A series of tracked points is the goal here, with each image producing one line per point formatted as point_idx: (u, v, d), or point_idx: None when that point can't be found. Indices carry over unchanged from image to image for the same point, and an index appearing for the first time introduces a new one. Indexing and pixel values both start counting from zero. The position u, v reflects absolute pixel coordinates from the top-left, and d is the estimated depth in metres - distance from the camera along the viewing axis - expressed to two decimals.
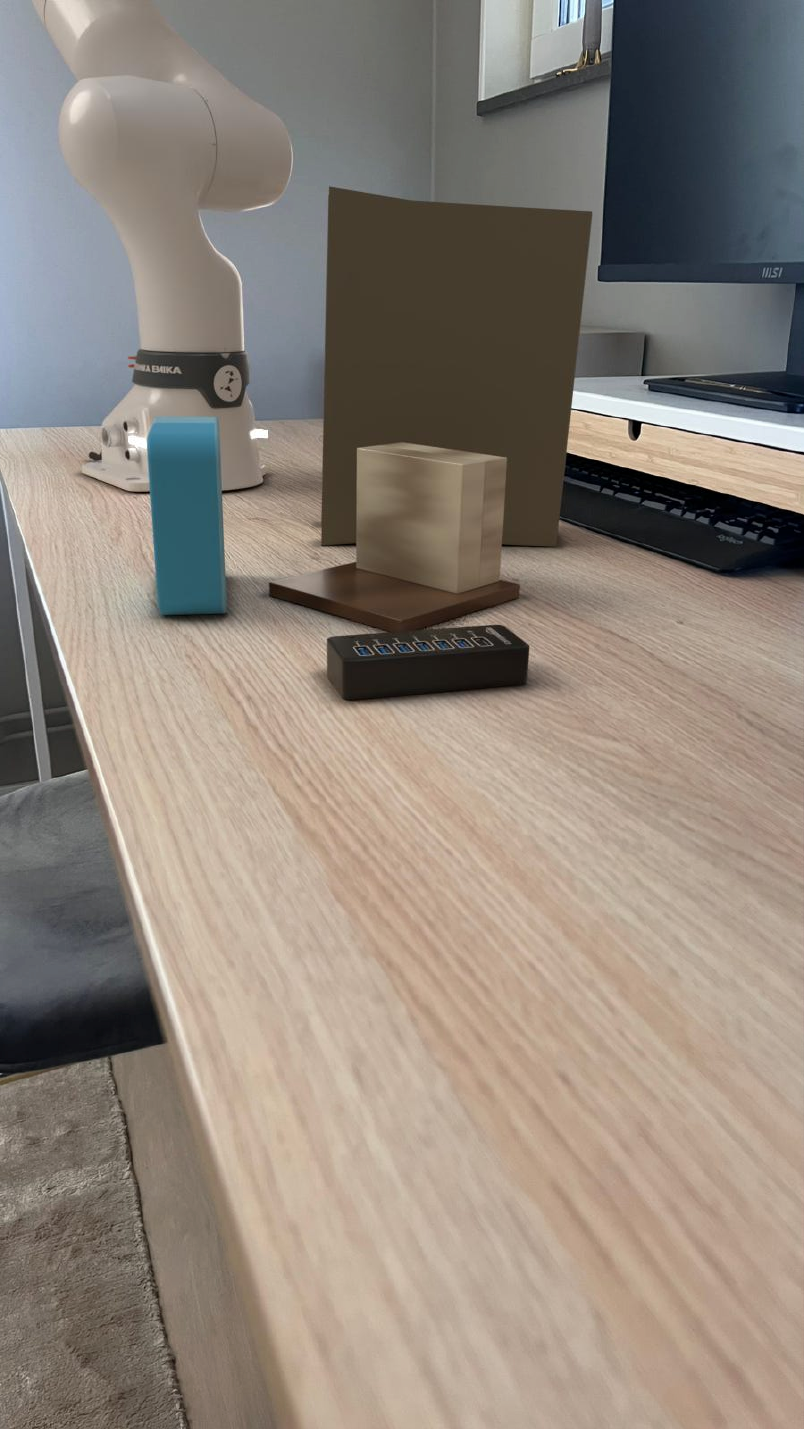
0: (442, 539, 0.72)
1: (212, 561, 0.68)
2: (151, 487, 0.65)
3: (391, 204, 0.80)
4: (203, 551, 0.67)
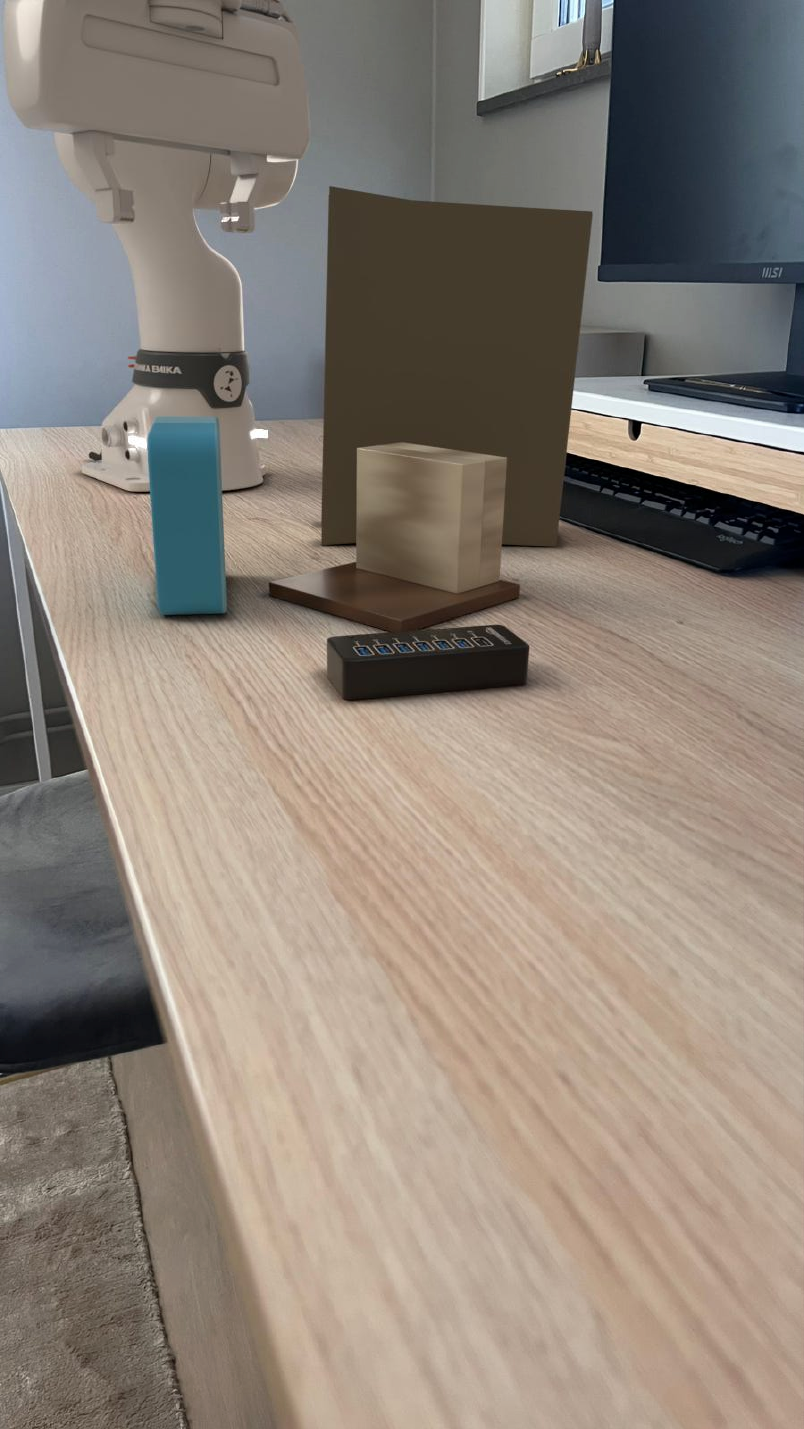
0: (442, 539, 0.72)
1: (212, 561, 0.68)
2: (151, 487, 0.65)
3: (391, 204, 0.80)
4: (203, 551, 0.67)
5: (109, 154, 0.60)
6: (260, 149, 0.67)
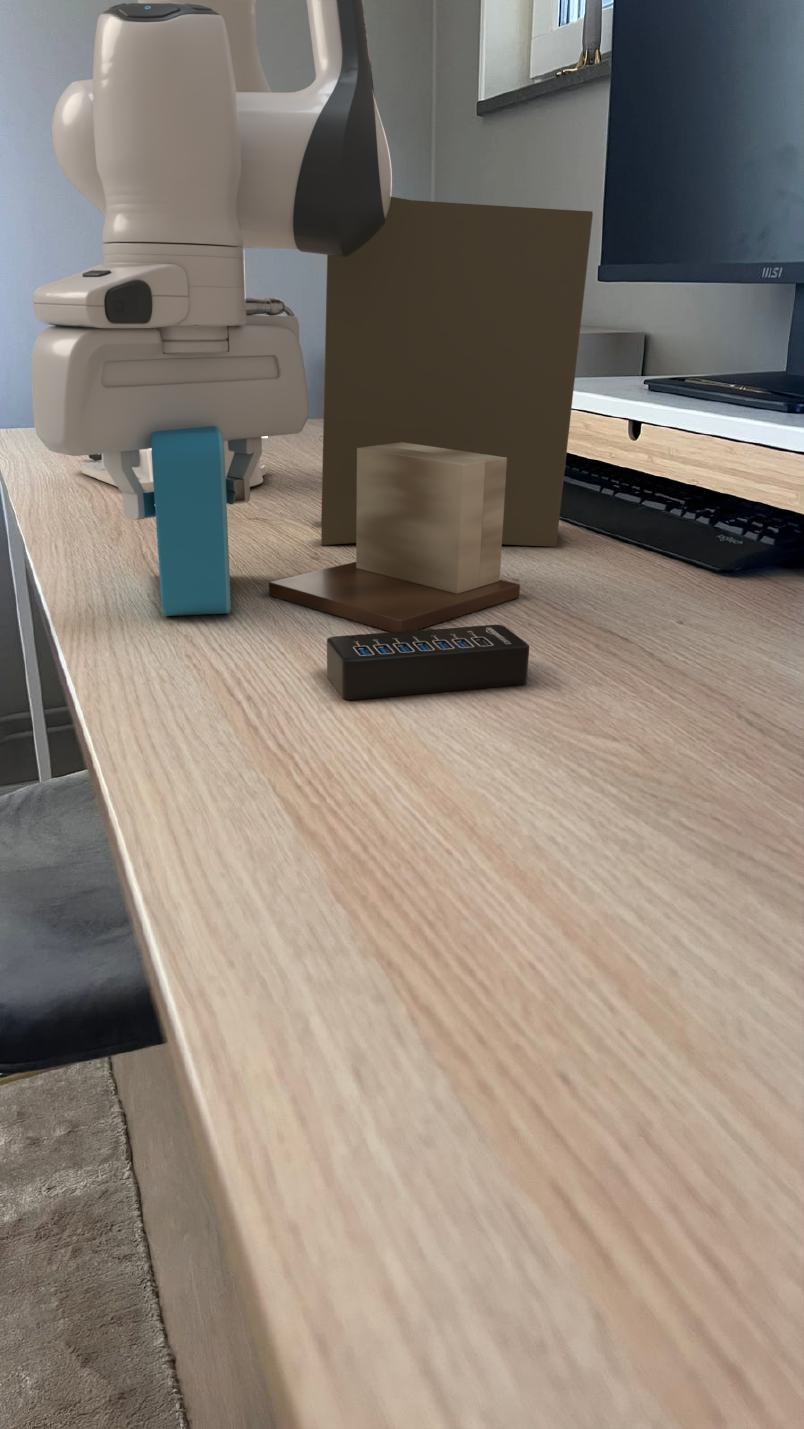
0: (442, 539, 0.72)
1: (216, 561, 0.68)
2: (155, 488, 0.65)
3: (391, 204, 0.80)
4: (207, 551, 0.67)
5: (135, 466, 0.67)
6: (262, 434, 0.73)
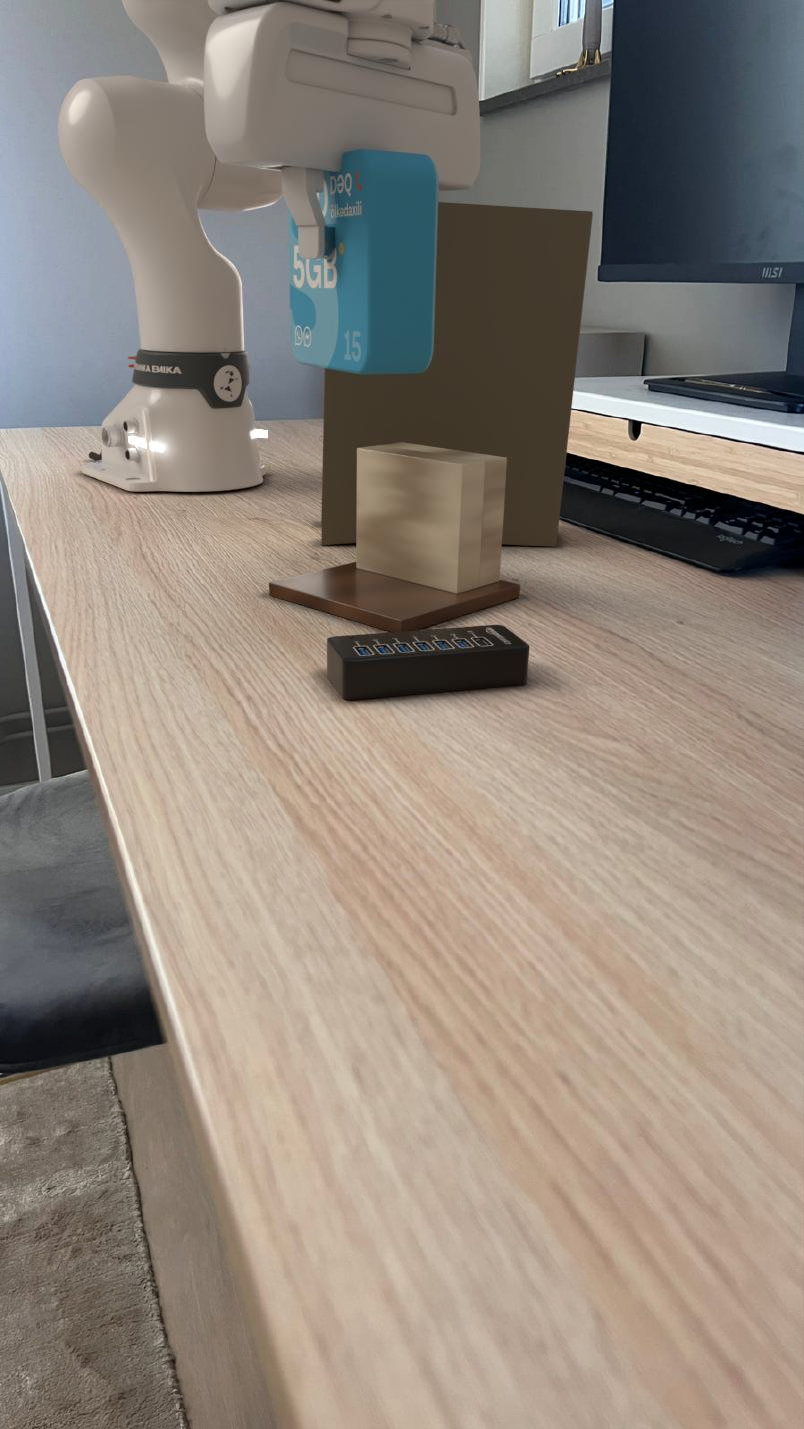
0: (442, 539, 0.72)
1: (424, 304, 0.61)
2: (371, 210, 0.57)
3: None
4: (417, 291, 0.60)
5: (318, 191, 0.60)
6: None
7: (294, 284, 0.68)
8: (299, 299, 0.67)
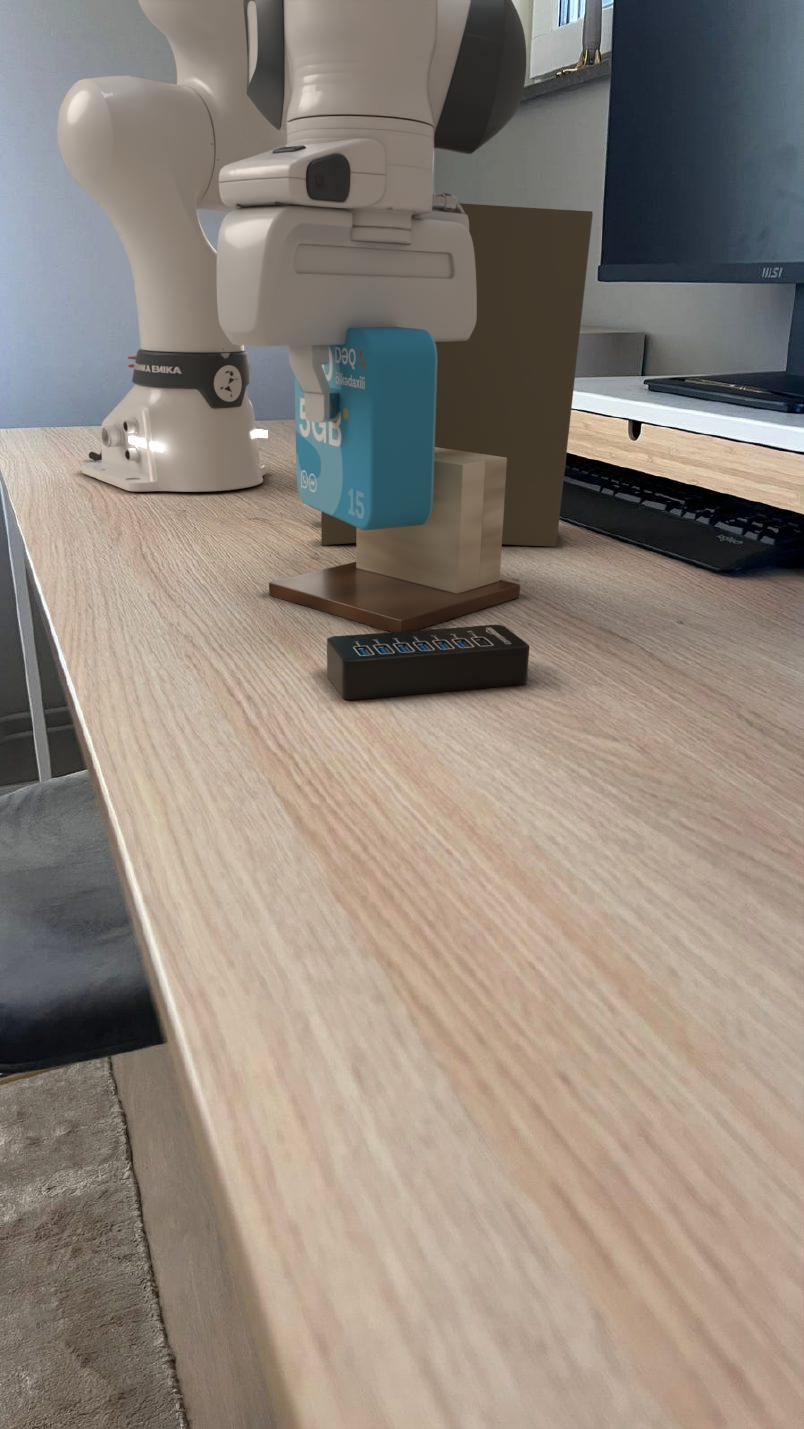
0: (442, 539, 0.72)
1: (424, 466, 0.64)
2: (373, 387, 0.61)
3: None
4: (417, 456, 0.64)
5: (324, 363, 0.63)
6: (434, 338, 0.69)
7: (300, 432, 0.71)
8: (305, 447, 0.71)
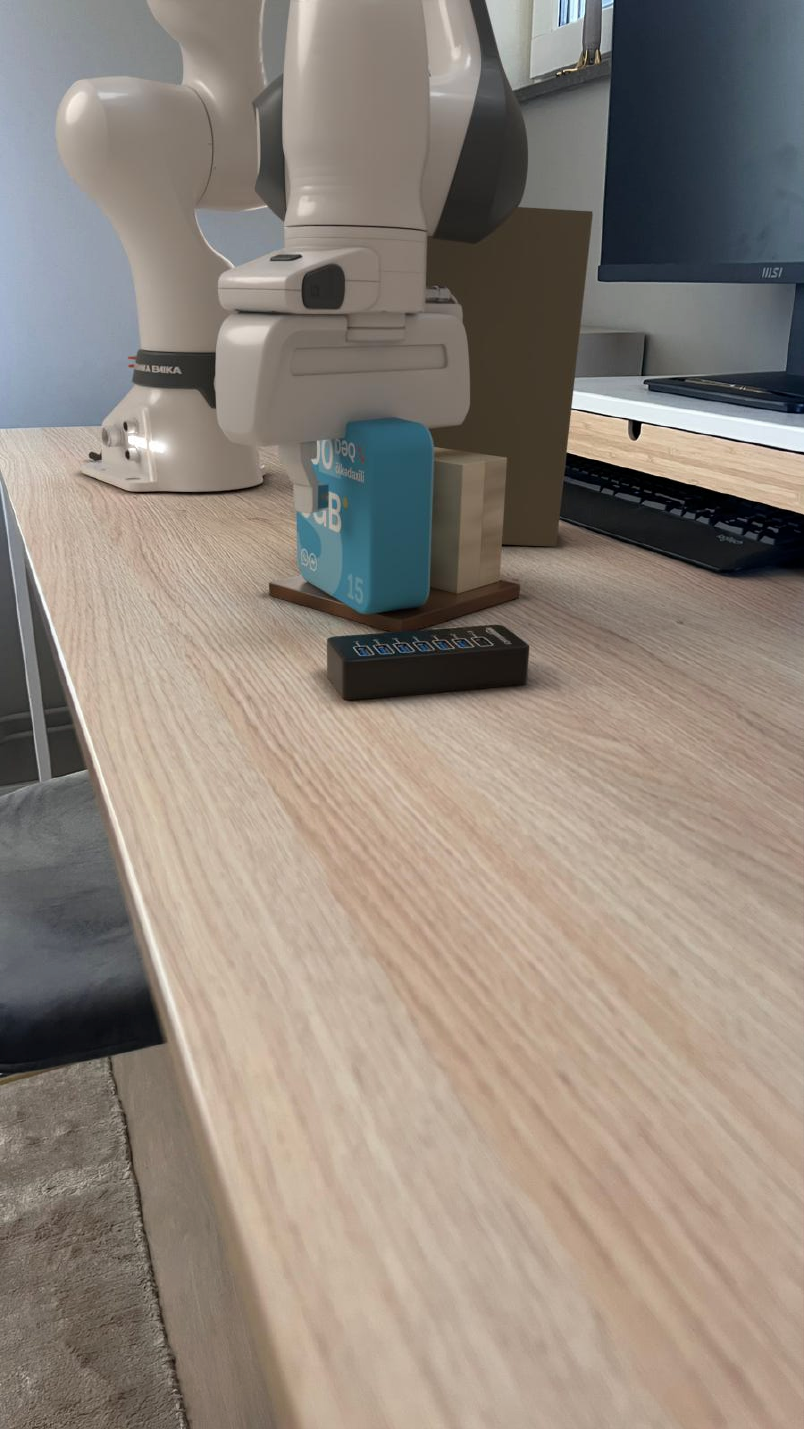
0: (442, 539, 0.72)
1: (421, 554, 0.67)
2: (372, 482, 0.63)
3: None
4: (414, 544, 0.66)
5: (312, 458, 0.65)
6: (428, 426, 0.71)
7: (301, 512, 0.73)
8: (305, 527, 0.73)
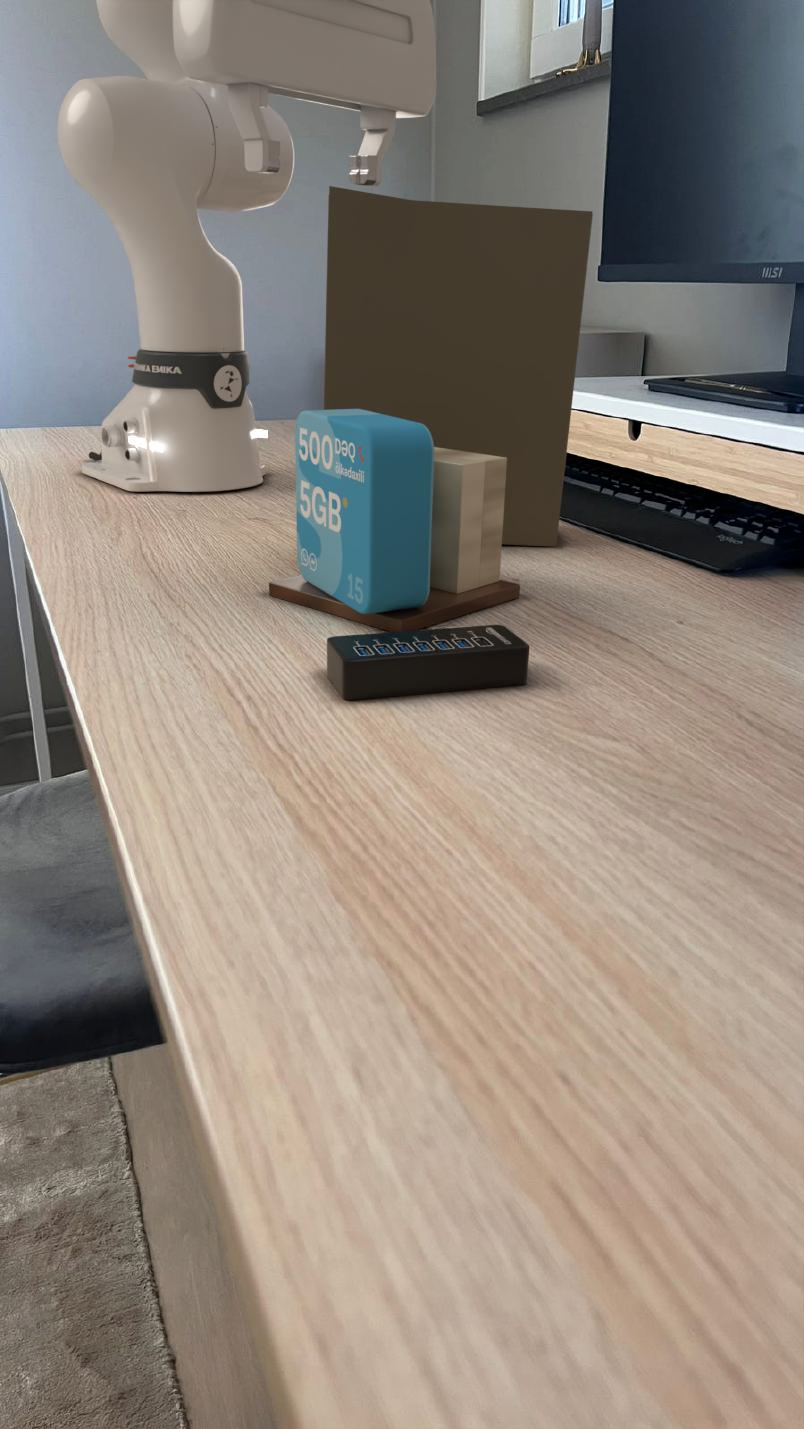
0: (442, 539, 0.72)
1: (421, 554, 0.67)
2: (372, 482, 0.63)
3: (391, 204, 0.80)
4: (414, 544, 0.66)
5: (262, 106, 0.63)
6: (392, 105, 0.70)
7: (301, 512, 0.73)
8: (305, 527, 0.73)
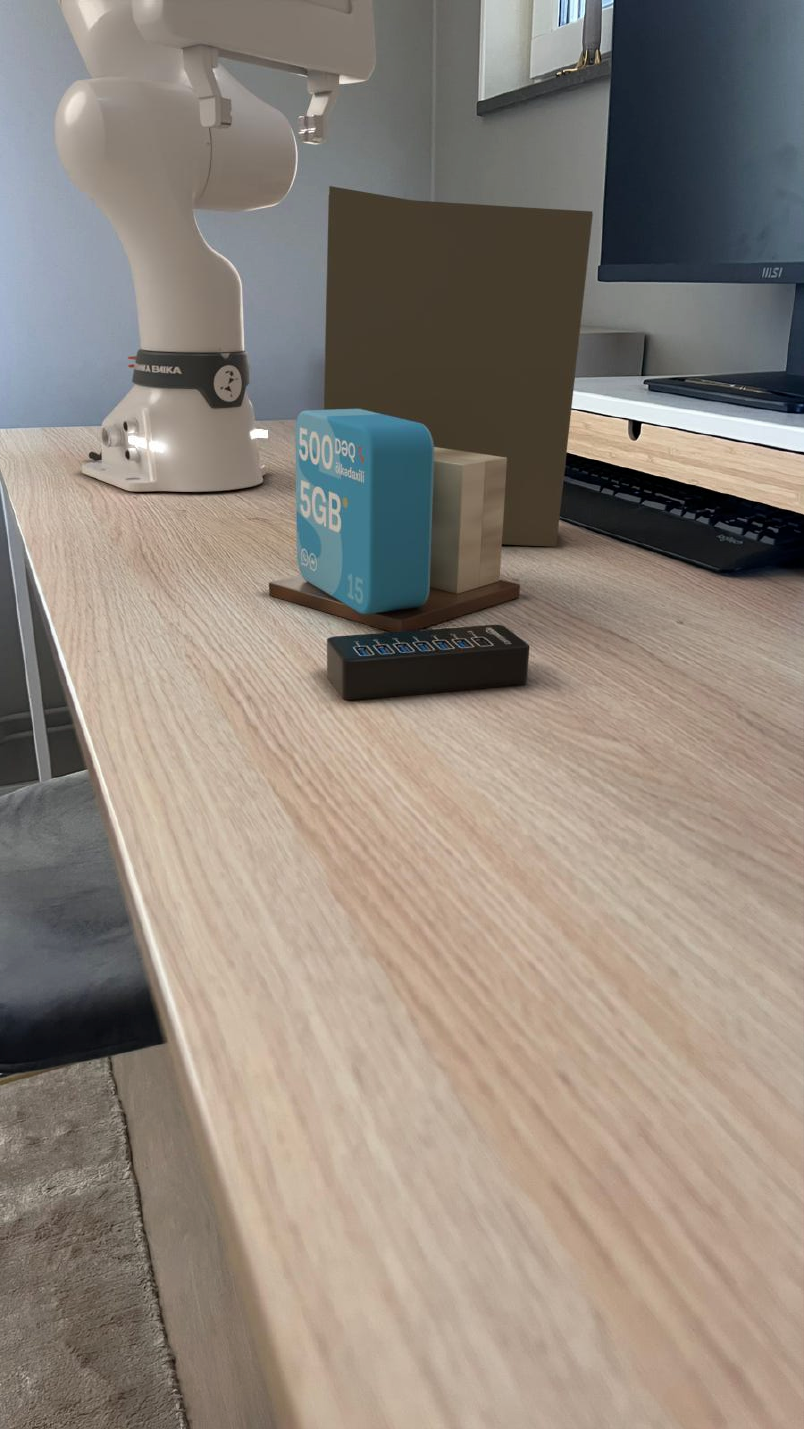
0: (442, 539, 0.72)
1: (421, 554, 0.67)
2: (372, 482, 0.63)
3: (391, 204, 0.80)
4: (414, 544, 0.66)
5: (214, 66, 0.71)
6: (334, 69, 0.77)
7: (301, 512, 0.73)
8: (305, 527, 0.73)
